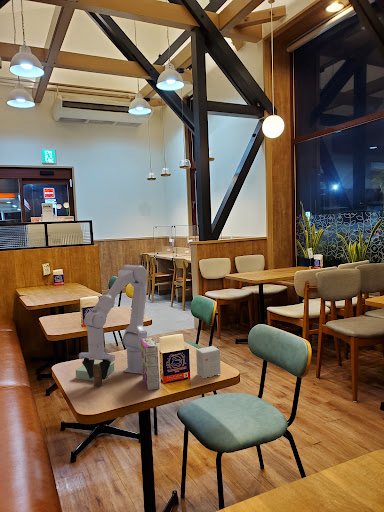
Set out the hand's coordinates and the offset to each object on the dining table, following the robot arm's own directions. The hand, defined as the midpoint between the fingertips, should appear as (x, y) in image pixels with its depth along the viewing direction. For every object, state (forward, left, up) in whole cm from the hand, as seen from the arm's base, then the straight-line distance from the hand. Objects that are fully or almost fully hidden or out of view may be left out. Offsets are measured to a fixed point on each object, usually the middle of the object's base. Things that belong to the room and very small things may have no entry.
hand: (97, 378), depth 144 cm
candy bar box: (-19, -6, -3) cm, 20 cm away
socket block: (+7, -9, -3) cm, 12 cm away
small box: (-38, -20, -3) cm, 43 cm away
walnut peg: (0, 0, -3) cm, 3 cm away
